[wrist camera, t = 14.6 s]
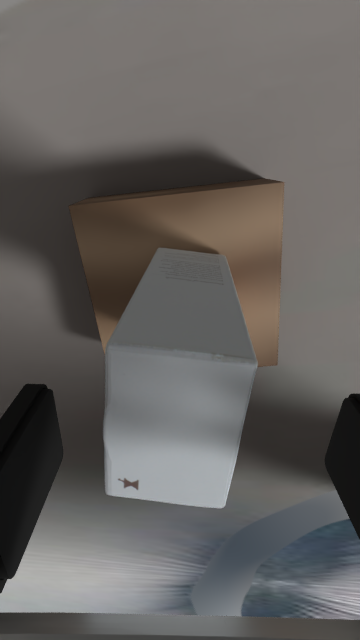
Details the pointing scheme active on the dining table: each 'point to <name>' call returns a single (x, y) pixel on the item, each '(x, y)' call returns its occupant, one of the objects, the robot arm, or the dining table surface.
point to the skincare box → (177, 383)
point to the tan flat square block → (187, 247)
